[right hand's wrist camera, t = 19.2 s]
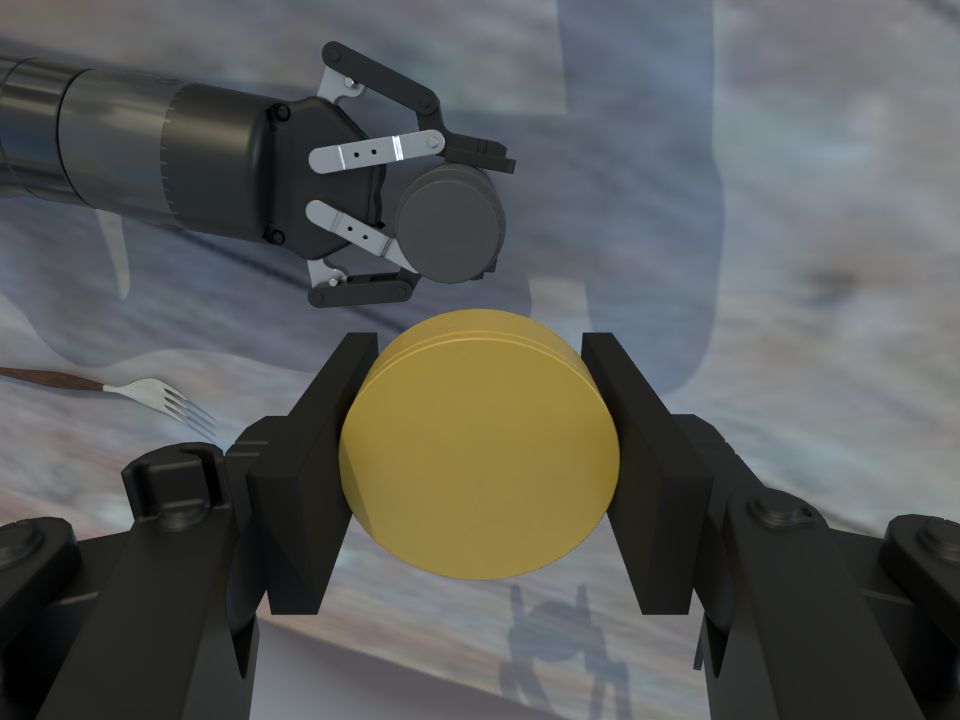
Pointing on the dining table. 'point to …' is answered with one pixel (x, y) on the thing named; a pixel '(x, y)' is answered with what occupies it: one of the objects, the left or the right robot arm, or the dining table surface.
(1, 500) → the dining table surface
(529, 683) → the dining table surface
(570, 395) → the lid
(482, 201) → the dark grey cylinder
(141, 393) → the fork
